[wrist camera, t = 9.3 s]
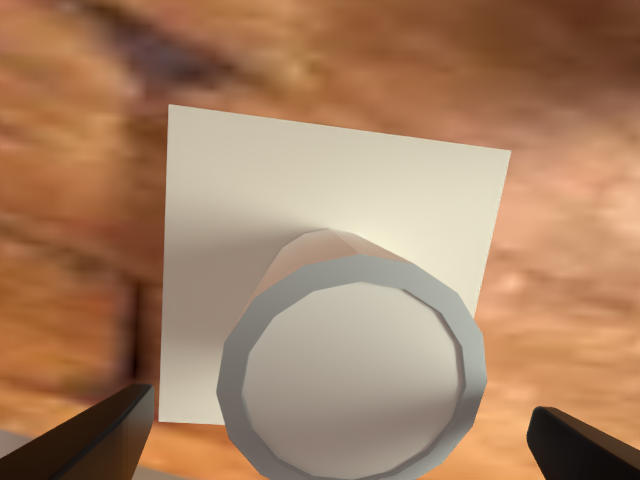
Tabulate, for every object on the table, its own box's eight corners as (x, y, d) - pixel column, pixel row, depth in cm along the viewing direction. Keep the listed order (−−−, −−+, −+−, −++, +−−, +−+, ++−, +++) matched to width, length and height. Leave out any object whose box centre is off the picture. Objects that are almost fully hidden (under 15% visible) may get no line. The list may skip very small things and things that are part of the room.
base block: (191, 114, 16) (168, 104, 13) (475, 152, 18) (511, 150, 15) (179, 382, 19) (158, 421, 16) (425, 397, 21) (447, 435, 18)
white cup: (226, 332, 16) (175, 464, 9) (284, 188, 14) (277, 209, 8) (365, 380, 17) (417, 531, 10) (430, 249, 15) (539, 315, 9)
